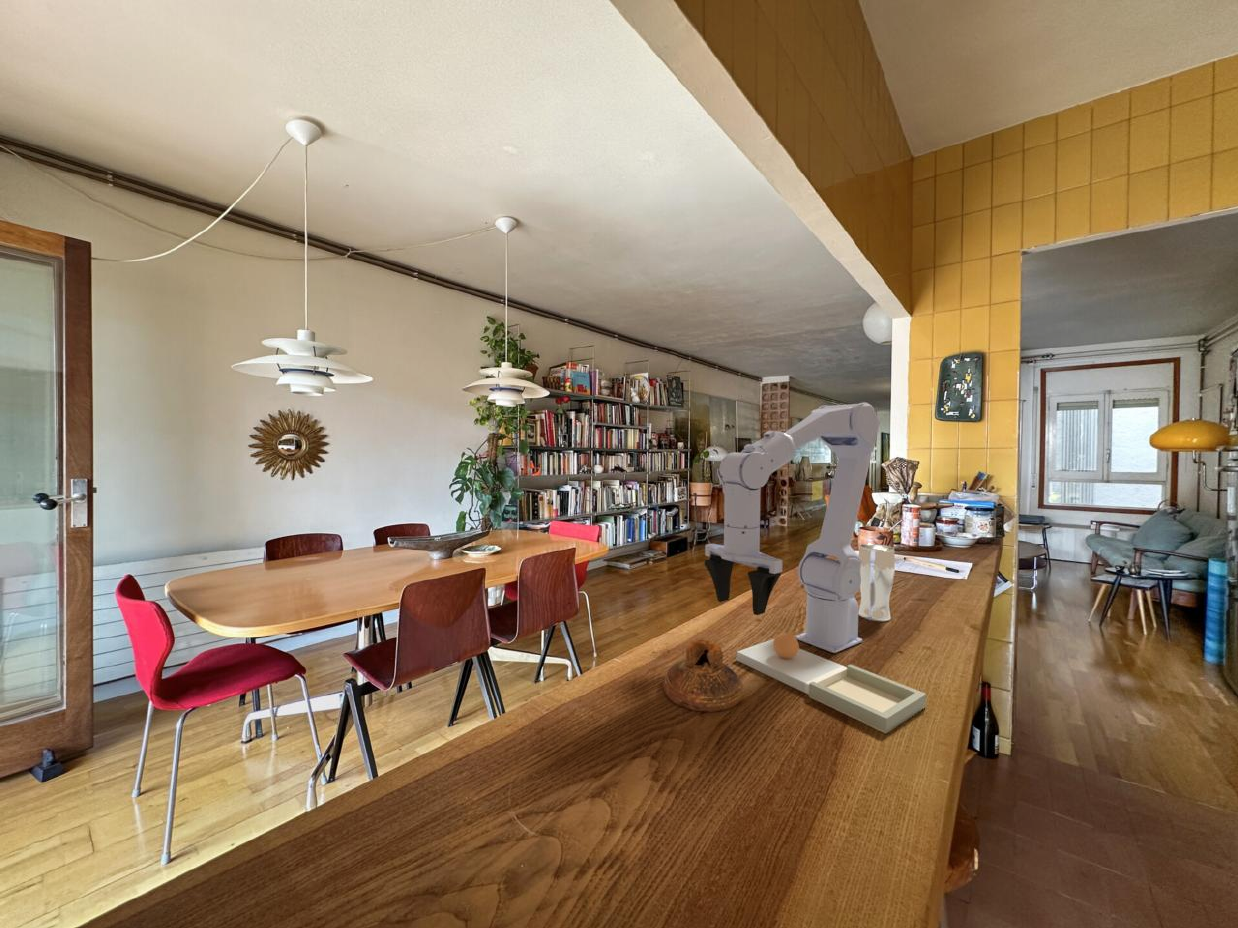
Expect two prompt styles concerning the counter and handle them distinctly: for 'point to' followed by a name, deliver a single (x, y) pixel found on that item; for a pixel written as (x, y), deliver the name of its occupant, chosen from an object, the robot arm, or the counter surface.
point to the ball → (786, 645)
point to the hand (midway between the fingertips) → (740, 606)
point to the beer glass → (876, 581)
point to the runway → (792, 666)
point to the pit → (870, 699)
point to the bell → (703, 680)
